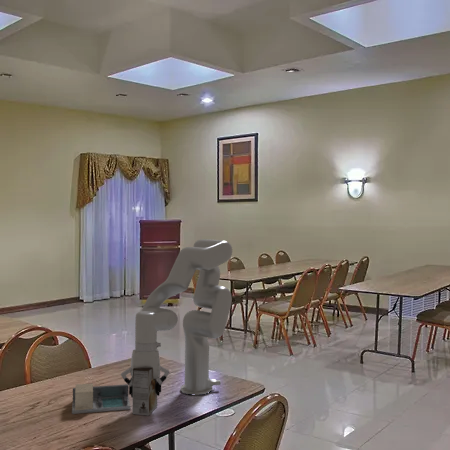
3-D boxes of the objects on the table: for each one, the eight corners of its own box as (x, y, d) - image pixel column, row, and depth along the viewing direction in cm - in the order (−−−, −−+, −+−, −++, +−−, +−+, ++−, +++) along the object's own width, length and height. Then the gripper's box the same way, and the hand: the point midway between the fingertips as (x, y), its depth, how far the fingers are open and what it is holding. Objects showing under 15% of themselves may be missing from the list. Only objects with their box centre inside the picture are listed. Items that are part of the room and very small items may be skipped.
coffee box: (140, 405, 197) (141, 361, 196) (157, 406, 196) (158, 362, 195) (131, 414, 188) (132, 368, 187) (149, 416, 187) (150, 369, 186)
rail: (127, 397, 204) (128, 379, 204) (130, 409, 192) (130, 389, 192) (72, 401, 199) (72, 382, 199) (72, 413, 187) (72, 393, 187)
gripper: (168, 343, 197) (167, 390, 197) (120, 345, 192) (119, 393, 193) (171, 348, 190) (171, 397, 190) (121, 350, 185) (120, 400, 186)
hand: (145, 395), depth 191 cm, fingers closed on coffee box, 8 cm apart
